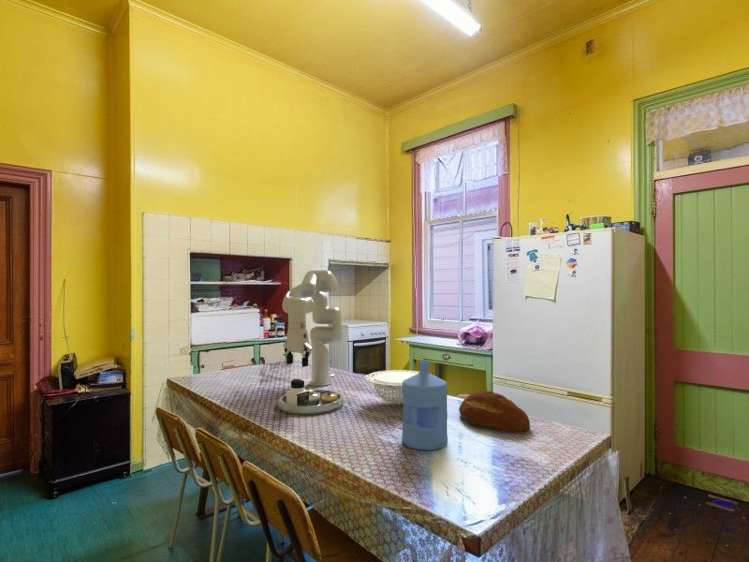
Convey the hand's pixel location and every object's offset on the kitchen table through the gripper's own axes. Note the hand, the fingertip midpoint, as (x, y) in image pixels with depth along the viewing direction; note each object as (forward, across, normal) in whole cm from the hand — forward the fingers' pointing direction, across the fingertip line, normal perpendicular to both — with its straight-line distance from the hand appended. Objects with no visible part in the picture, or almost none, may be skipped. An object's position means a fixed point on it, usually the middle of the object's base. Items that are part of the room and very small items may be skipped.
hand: (297, 365), depth 183 cm
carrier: (+20, 0, -8) cm, 21 cm away
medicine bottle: (+18, 0, 0) cm, 19 cm away
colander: (+20, -32, -32) cm, 50 cm away
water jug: (+19, -64, 0) cm, 67 cm away
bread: (+20, -75, -33) cm, 85 cm away
